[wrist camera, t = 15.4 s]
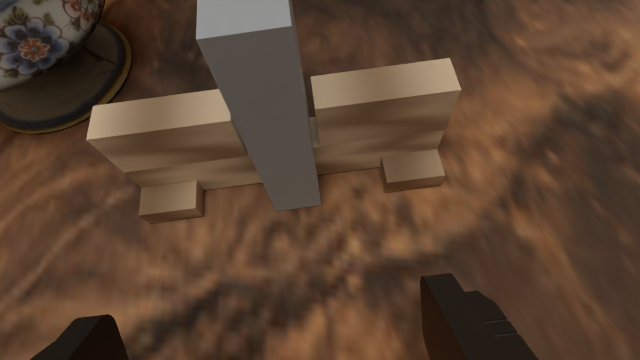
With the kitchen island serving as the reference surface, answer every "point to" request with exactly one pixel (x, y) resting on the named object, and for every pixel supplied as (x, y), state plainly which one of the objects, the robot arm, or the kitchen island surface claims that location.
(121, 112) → the birch slotted board
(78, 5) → the apothecary jar
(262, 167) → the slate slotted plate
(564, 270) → the kitchen island surface
